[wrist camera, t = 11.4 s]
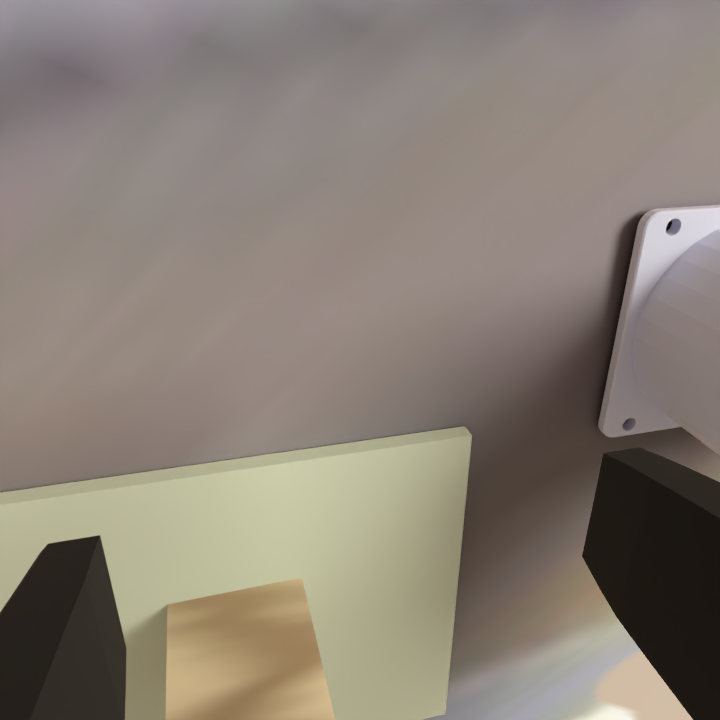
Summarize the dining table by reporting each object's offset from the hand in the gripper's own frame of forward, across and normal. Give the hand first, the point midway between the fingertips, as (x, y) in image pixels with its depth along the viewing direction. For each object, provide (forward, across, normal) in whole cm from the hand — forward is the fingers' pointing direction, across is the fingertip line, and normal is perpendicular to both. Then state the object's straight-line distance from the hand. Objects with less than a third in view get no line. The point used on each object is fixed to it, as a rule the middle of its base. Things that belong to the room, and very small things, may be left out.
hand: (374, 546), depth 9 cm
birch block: (+9, +2, +12) cm, 15 cm away
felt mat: (+10, +2, +12) cm, 16 cm away
